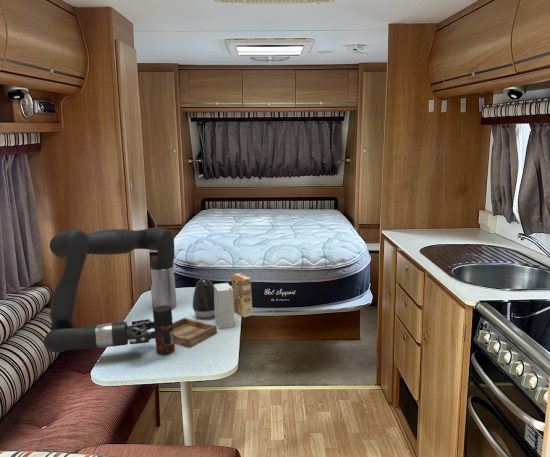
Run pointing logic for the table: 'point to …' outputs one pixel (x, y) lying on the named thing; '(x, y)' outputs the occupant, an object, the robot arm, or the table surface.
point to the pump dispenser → (204, 299)
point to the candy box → (242, 294)
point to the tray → (191, 332)
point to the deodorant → (164, 329)
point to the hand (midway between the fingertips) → (163, 328)
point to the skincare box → (224, 305)
